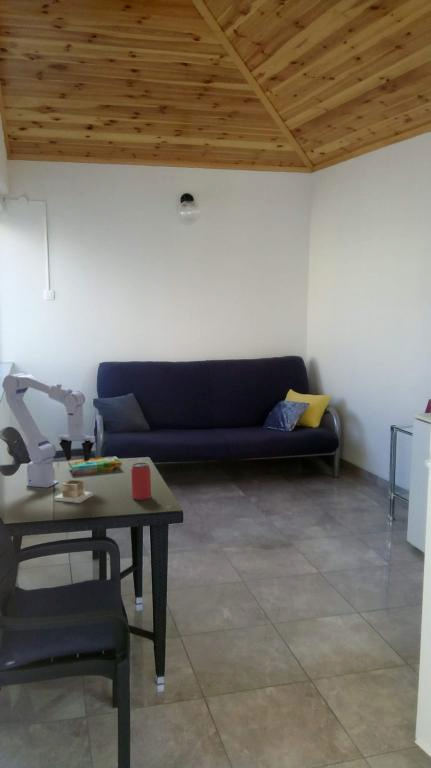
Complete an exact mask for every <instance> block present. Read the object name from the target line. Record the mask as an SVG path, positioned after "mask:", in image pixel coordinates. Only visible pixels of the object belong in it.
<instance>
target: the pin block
mask: <svg viewBox="0 0 431 768" xmlns="http://www.w3.org/2000/svg"><path fill="white" fill-rule="evenodd" d="M93 495H94V494H93V491H85V493H84V494H82V495H80V496H79V497H77V498H75V497H64V496H63V494H62V493H60V494H58V495H56V496H54V501H56V502H67V503H76V504H81V503H82V502H84V501H86V500H87V499H89V498H91V497H92V496H93Z"/></svg>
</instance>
